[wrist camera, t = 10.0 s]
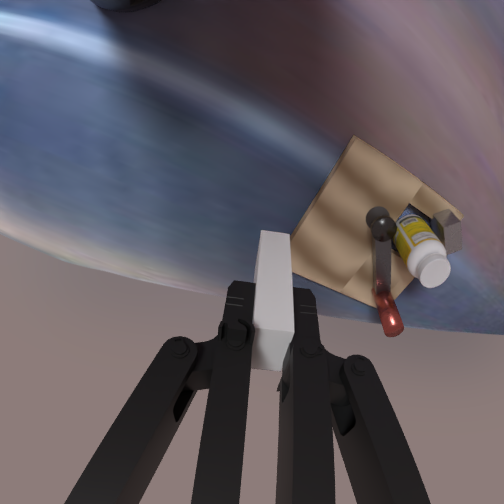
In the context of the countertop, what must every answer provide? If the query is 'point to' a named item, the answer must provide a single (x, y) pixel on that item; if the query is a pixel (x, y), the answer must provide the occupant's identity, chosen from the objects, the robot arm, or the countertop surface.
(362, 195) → the tan flat square sheet
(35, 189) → the countertop surface
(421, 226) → the pill bottle
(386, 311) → the lever
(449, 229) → the grey angular block
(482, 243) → the countertop surface
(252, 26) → the countertop surface
